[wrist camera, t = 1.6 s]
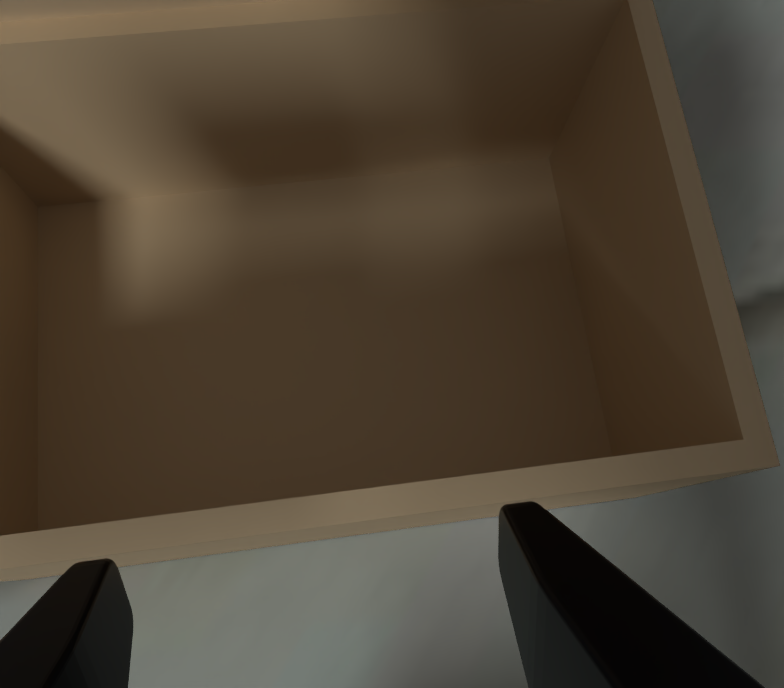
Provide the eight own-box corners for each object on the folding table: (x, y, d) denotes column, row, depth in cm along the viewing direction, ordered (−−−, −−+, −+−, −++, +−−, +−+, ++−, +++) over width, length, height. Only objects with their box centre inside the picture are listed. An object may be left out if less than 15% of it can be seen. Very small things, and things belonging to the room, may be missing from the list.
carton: (634, 497, 22) (780, 465, 15) (23, 580, 21) (-170, 591, 13) (558, 148, 26) (645, -27, 18) (25, 199, 24) (-130, 31, 17)
